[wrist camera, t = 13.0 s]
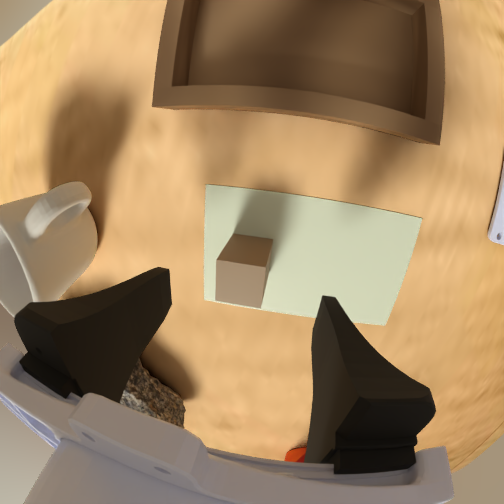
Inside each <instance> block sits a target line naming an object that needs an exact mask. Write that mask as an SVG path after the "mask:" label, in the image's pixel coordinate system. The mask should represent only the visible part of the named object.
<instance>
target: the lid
mask: <svg viewBox="0 0 504 504" xmlns="http://www.w3.org/2000/svg"><path fill="white" fill-rule="evenodd" d="M421 221H422V218H419V217H414V216H410V215H405V214H401V213H396V212H392V211H387V210H382V209H377V208H372V207H367V206H361V205H356V204H350V203H345V202H339V201H333V200H327V199H321V198H315V197H308V196H302V195H295V194H288V193H280V192H273V191H265V190H257V189H248V188H239V187H230V186H220V185H209V184H206V194H205V227H204V300H208V301H213V302H218V303H224V304H229V305H235V306H241V307H246V308H252V309H258V310H265V311H271V312H278V313H284V314H291V315H298V316H305V317H313V318H316V316H317V313H318V309H319V306H320V302H321V298H322V295H325V296H332V297H336V299H337V300H338V302H339V303H340V305H341V306H342V308H343V309H344V311H345V312H346V314H347V315H348V317H349V318H350V320H351V321H352V322H355V323H364V324H374V325H386V322H387V320H388V318H389V315H390V313H391V311H392V308H393V306H394V303H395V301H396V298H397V296H398V293H399V290H400V288H401V285H402V282H403V279H404V277H405V274H406V271H407V268H408V265H409V262H410V259H411V256H412V253H413V249H414V246H415V243H416V239H417V236H418V232H419V229H420V225H421Z"/></svg>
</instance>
